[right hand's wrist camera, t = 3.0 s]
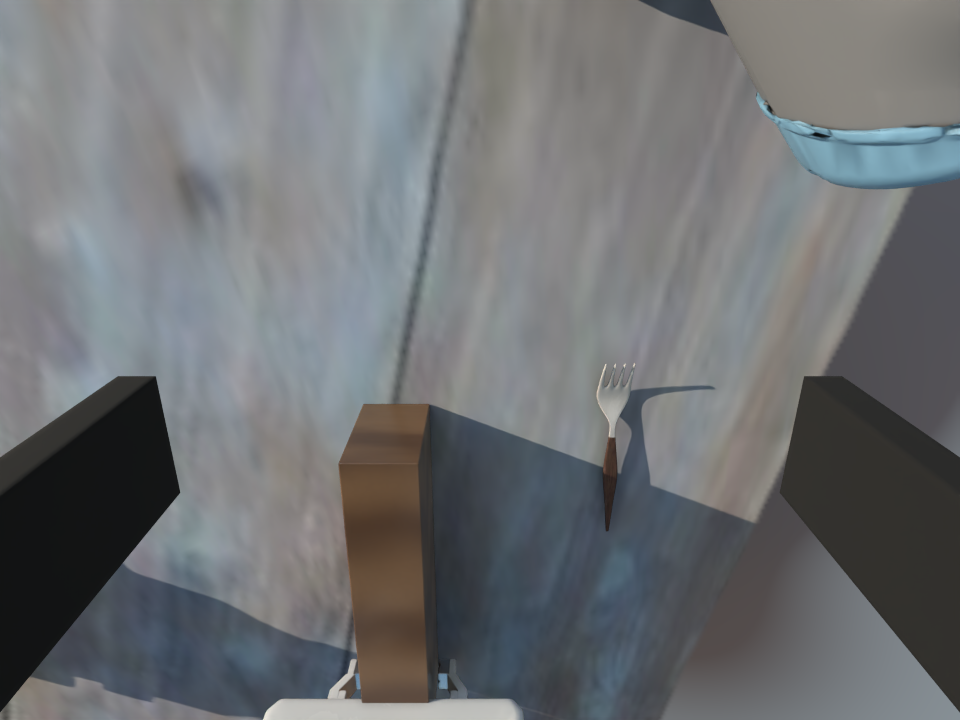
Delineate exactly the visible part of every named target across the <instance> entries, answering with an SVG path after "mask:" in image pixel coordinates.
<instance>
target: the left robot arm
mask: <svg viewBox="0 0 960 720" xmlns="http://www.w3.org/2000/svg"><path fill="white" fill-rule="evenodd" d="M357 689H360V679H359V668H358V659H351V662H350V666H349V670H348V674H346V675H345V676H344V677H343V678H342V679H340V680H339V681H338V682H337V683H336V684H335V685H334V686H333V687H332V688H331V689H330V691H329V695H328V699H280V700H279V701H277V702H276V703H275V704H274V705H272V706H271V707H270V708H269V709H268V710H267V711H266V713H265V716H264V719H263V720H524V714H523V710H522V709H521V707H520V706H519V705H518V704H517V703H516V702H515V701H514V700H513V699H467V689H466V687H465V686H464V684H463V683H462V681H461V680H460V678H459V677H458V676H457V674H456V659H439V667H438V689H448V691H449V693H450V699H429V703H362V699H349V698H350V697H351V696H352V695H353V694H354V692H355V691H356V690H357Z"/></svg>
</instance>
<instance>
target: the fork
mask: <svg viewBox="0 0 960 720" xmlns="http://www.w3.org/2000/svg"><path fill="white" fill-rule="evenodd" d="M635 365H636V364H635V363H634V365H633V368H632V370H631V373H630V375H629V378H628V381H627V383H626V385H624V386H623V384H622V382H623V376H624V371H625V366H626V364H624V367H623V369H622V372H621V375H620V377H619V380H618V383H617V385H616V386H614V385H613V381H614V375H615V369H616V364H615V366H614V368H613V371H612V374H611V377H610V380H609V383H608V385H607V386H604V379H605V372H606V367H607V364H605V367H604V370H603V373H602V376H601V379H600V383H599V386H598V390H597V400H598V403H599V405H600V407H601V409H602V411H603V412H604V414H605V416H606V417H607V419H608V421H609V424H610V432H609V438H608V443H607V449H606V454H605V460H604V467H603V488H604V501H605V524H606V531H608V530H609V524H610V518H611V511H612V505H613V499H614V493H615V488H616V481H617V457H616V443H615V425H616V422H617V420H618V418H619V416H620V414H621V412H622V411H623V409H624V407H625V406H626V404H627V402H628V399H629V396H630V391H631V383H632V378H633V373H634V368H635Z"/></svg>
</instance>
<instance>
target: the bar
mask: <svg viewBox="0 0 960 720" xmlns="http://www.w3.org/2000/svg"><path fill="white" fill-rule="evenodd" d="M339 474H340V484H341V495H342V505H343V515H344V525H345V535H346V546H347V556H348V566H349V576H350V587H351V597H352V607H353V617H354V627H355V638H356V648H357V658H358V668H359V679H360V689H361V699H362V703H429V699H436V690H437V677H438V641H437V611H436V581H435V552H434V522H433V492H432V462H431V433H430V405H429V404H363V407H362V409H361V411H360V414H359V416H358V419H357V421H356V423H355V426H354V428H353V431H352V433H351V435H350V438H349V440H348V442H347V445H346V447H345V450H344V452H343V454H342V457H341V459H340V461H339Z"/></svg>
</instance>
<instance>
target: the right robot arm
mask: <svg viewBox="0 0 960 720" xmlns="http://www.w3.org/2000/svg"><path fill="white" fill-rule="evenodd" d="M710 1H711V3H712V5H713V6H714V8H715V10H716V12H717V14H718V16H719V18H720V20H721V22H722V24H723V26H724V28H725V30H726V32H727V33H728V35H729V37H730V39H731V41H732V43H733V45H734V47H735V49H736V51H737V53H738V55H739V57H740V58H741V60H742V62H743V64H744V66H745V68H746V70H747V72H748V74H749V76H750V78H751V80H752V82H753V83H754V85H755V87H756V89H757V95H756V99H757V101H758V104H759V106H760V108H761V110H762V111H763V113H764V114H765V115H766V116H767V117H768V118H769V119H771V120H772V121H773V122H774V123H776V125H777V127H778V128H779V130H780V132H781V133H782V135H783V137H784V138H785V140H786V142H787V144H788V145H789V147H790V149H791V150H792V152H793V154H794V155H795V157H796V159H797V160H798V161H799V163H800V164H801V165H802V166H803V167H804V168H805V169H806V170H807V171H809V172H810V173H812V174H815V175H818V176H820V177H821V178H822V179H825V180H827V181H829V182H830V183H833V184H836V185H840V186H845V187H852V188H861V189H896V188H906V187H914V186H922V185H928V184H934V183H940V182H946V181H950V180H955V179H959V178H960V0H710ZM179 494H180V489H179V484H178V479H177V475H176V470H175V465H174V461H173V456H172V451H171V446H170V442H169V437H168V432H167V427H166V423H165V418H164V413H163V408H162V404H161V399H160V394H159V390H158V385H157V380H156V376H118V377H116V378H115V379H113V380H112V381H110V382H109V383H108V384H106V385H105V386H103V387H102V388H100V389H99V390H97V391H96V392H95V393H93V394H92V395H90V396H89V397H87V398H86V399H84V400H83V401H81V402H80V403H79V404H77V405H76V406H74V407H73V408H71V409H70V410H68V411H67V412H65V413H64V414H63V415H61V416H60V417H58V418H57V419H55V420H54V421H52V422H51V423H50V424H48V425H47V426H45V427H44V428H42V429H41V430H39V431H38V432H36V433H35V434H34V435H32V436H31V437H29V438H28V439H26V440H25V441H23V442H22V443H20V444H19V445H18V446H16V447H15V448H13V449H12V450H10V451H9V452H7V453H6V454H5V455H3V456H2V457H0V712H1V711H2V709H3V708H4V707H5V706H6V705H7V703H8V702H9V701H10V700H11V698H12V697H13V696H14V695H15V694H16V692H17V691H18V690H19V689H20V687H21V686H22V685H23V684H24V683H25V681H26V680H27V679H28V678H29V676H30V675H31V674H32V673H33V672H34V670H35V669H36V668H37V667H38V666H39V664H40V663H41V662H42V661H43V659H44V658H45V657H46V656H47V655H48V653H49V652H50V651H51V650H52V648H53V647H54V646H55V645H56V644H57V642H58V641H59V640H60V639H61V637H62V636H63V635H64V634H65V633H66V631H67V630H68V629H69V628H70V626H71V625H72V624H73V623H74V622H75V620H76V619H77V618H78V617H79V616H80V614H81V613H82V612H83V611H84V609H85V608H86V607H87V606H88V605H89V603H90V602H91V601H92V600H93V598H94V597H95V596H96V595H97V594H98V592H99V591H100V590H101V589H102V587H103V586H104V585H105V584H106V583H107V581H108V580H109V579H110V578H111V576H112V575H113V574H114V573H115V572H116V570H117V569H118V568H119V567H120V565H121V564H122V563H123V562H124V561H125V559H126V558H127V557H128V556H129V555H130V553H131V552H132V551H133V550H134V548H135V547H136V546H137V545H138V544H139V542H140V541H141V540H142V539H143V537H144V536H145V535H146V534H147V533H148V531H149V530H150V529H151V528H152V526H153V525H154V524H155V523H156V522H157V520H158V519H159V518H160V517H161V515H162V514H163V513H164V512H165V511H166V509H167V508H168V507H169V506H170V504H171V503H172V502H173V501H174V500H175V498H176V497H177V496H178V495H179ZM780 494H781V495H782V496H783V497H784V498H785V500H786V501H787V502H788V503H789V504H790V506H791V507H792V508H793V509H794V511H795V512H796V513H797V514H798V515H799V517H800V518H801V519H802V520H803V522H804V523H805V524H806V525H807V526H808V528H809V529H810V530H811V531H812V533H813V534H814V535H815V536H816V537H817V539H818V540H819V541H820V542H821V544H822V545H823V546H824V547H825V548H826V550H827V551H828V552H829V553H830V554H831V556H832V557H833V558H834V559H835V561H836V562H837V563H838V564H839V565H840V567H841V568H842V569H843V570H844V572H845V573H846V574H847V575H848V576H849V578H850V579H851V580H852V581H853V583H854V584H855V585H856V586H857V587H858V589H859V590H860V591H861V592H862V594H863V595H864V596H865V597H866V598H867V600H868V601H869V602H870V603H871V604H872V606H873V607H874V608H875V609H876V611H877V612H878V613H879V614H880V616H881V617H882V618H883V619H884V620H885V622H886V623H887V624H888V625H889V626H890V628H891V629H892V630H893V631H894V633H895V634H896V635H897V636H898V637H899V639H900V640H901V641H902V642H903V644H904V645H905V646H906V647H907V648H908V650H909V651H910V652H911V653H912V655H913V656H914V657H915V658H916V659H917V661H918V662H919V663H920V664H921V666H922V667H923V668H924V669H925V670H926V672H927V673H928V674H929V675H930V676H931V678H932V679H933V680H934V681H935V683H936V684H937V685H938V686H939V687H940V689H941V690H942V691H943V692H944V694H945V695H946V696H947V697H948V698H949V700H950V701H951V702H952V703H953V705H954V706H955V707H956V708H957V709H958V711H959V712H960V457H958V456H957V455H955V454H954V453H953V452H951V451H950V450H948V449H947V448H945V447H944V446H942V445H941V444H939V443H938V442H937V441H935V440H934V439H932V438H931V437H929V436H928V435H926V434H925V433H924V432H922V431H921V430H919V429H918V428H916V427H915V426H913V425H912V424H910V423H909V422H908V421H906V420H905V419H903V418H902V417H900V416H899V415H897V414H896V413H895V412H893V411H892V410H890V409H889V408H887V407H886V406H884V405H883V404H881V403H880V402H878V401H877V400H876V399H874V398H873V397H871V396H870V395H868V394H867V393H865V392H864V391H863V390H861V389H860V388H858V387H857V386H855V385H854V384H852V383H851V382H849V381H848V380H846V379H845V378H844V377H842V376H804V380H803V385H802V390H801V394H800V399H799V404H798V408H797V413H796V418H795V423H794V427H793V432H792V437H791V442H790V446H789V451H788V456H787V461H786V465H785V470H784V475H783V479H782V484H781V489H780Z"/></svg>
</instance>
